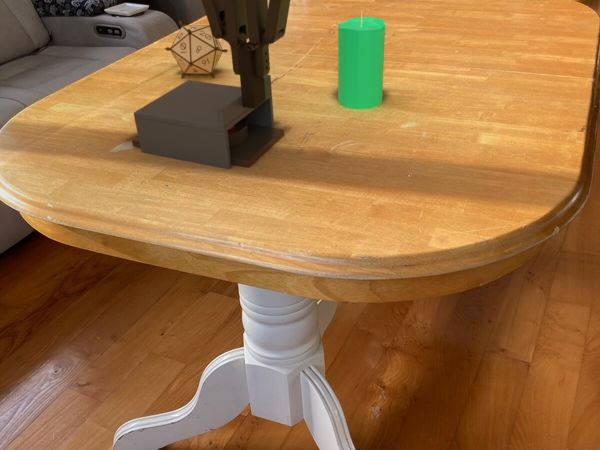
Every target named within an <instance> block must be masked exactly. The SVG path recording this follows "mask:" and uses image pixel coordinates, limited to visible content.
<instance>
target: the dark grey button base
mask: <svg viewBox="0 0 600 450" xmlns="http://www.w3.org/2000/svg"><path fill="white" fill-rule="evenodd" d="M227 132H228V140H229V149H230V158H231V166H236V167H241V168H246V169H249V168H251V167H252V166H253V165H254V164H255V163H257V161H259V159H261V158H262V157H263V156H264V155H265V154H266V153H267V152H268V151H269V150H270V149H272V147H273V146H275V145H276V144H277V143H278V142H279V141H280V140H282V138H283V137H284V136H285V131H284V128H276V127H274V128H271V127H265V126H258V125H252V124H247V121H246V120H245V119H244V118H243V119H241V120H240V121H239V122H237V123H236V124H235V127H234V128H233V129H230V130H227ZM131 143H132V147H136V148H140V149H141V147H140V142H139V137H138V135H137V136H136V137H134V138H132V139H131Z"/></svg>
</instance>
